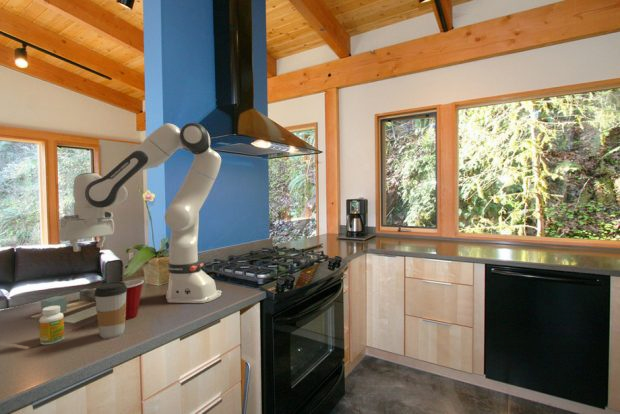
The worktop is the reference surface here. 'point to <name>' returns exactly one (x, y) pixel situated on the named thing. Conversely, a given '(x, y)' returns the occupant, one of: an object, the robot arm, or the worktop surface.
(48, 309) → the supplement bottle
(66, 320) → the grey block
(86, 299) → the oak strip
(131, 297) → the plastic cup
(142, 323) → the worktop surface
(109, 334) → the coffee cup
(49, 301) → the teal block
